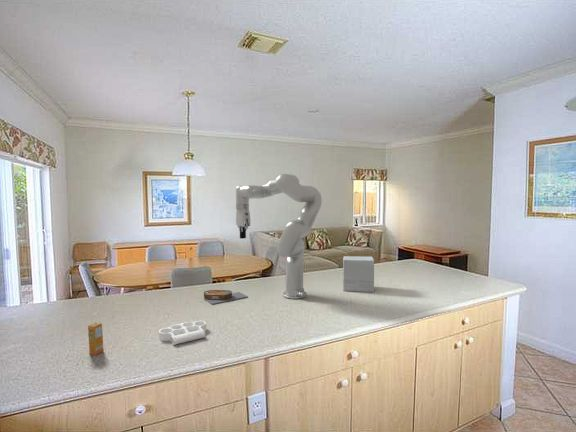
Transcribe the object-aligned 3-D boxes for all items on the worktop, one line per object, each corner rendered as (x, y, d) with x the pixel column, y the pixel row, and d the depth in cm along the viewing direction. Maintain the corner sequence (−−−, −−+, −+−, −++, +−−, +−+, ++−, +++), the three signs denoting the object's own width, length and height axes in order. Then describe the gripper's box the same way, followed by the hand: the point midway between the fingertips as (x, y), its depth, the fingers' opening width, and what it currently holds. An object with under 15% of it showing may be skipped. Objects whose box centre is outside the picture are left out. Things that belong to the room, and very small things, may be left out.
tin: (234, 290, 175) (229, 293, 167) (233, 296, 175) (229, 300, 167) (206, 289, 177) (201, 293, 168) (206, 295, 177) (201, 299, 168)
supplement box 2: (372, 286, 194) (372, 256, 194) (374, 292, 181) (374, 260, 180) (343, 285, 198) (343, 255, 197) (342, 291, 184) (343, 259, 183)
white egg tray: (164, 349, 115) (155, 335, 127) (213, 337, 124) (201, 325, 137) (164, 340, 114) (155, 326, 127) (213, 329, 124) (201, 317, 136)
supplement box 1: (88, 354, 111) (87, 325, 110) (97, 349, 114) (96, 321, 113) (95, 355, 109) (94, 326, 109) (104, 351, 113) (103, 322, 112)
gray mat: (247, 297, 173) (247, 296, 173) (212, 304, 161) (212, 303, 161) (239, 293, 181) (239, 292, 181) (204, 299, 169) (204, 298, 169)
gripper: (254, 207, 187) (254, 239, 188) (242, 206, 200) (242, 236, 201) (242, 207, 183) (243, 240, 184) (231, 207, 195) (231, 237, 196)
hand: (242, 238), depth 192 cm, fingers closed
